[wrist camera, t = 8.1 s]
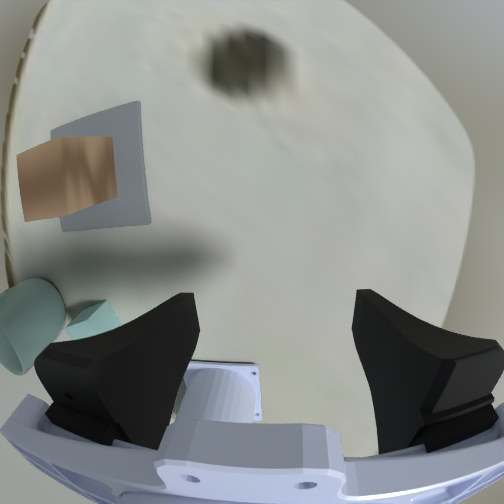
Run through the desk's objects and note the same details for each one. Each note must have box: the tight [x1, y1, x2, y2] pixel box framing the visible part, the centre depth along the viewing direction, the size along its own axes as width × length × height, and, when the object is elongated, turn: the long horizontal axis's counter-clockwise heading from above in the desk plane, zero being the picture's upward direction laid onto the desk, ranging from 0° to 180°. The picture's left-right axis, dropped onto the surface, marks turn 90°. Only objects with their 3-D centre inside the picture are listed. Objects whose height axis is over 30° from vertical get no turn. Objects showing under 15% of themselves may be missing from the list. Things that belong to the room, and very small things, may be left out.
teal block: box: [65, 300, 122, 340], centre depth 24 cm, size 4×4×4 cm
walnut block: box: [17, 136, 118, 222], centre depth 17 cm, size 5×5×6 cm
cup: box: [0, 278, 66, 375], centre depth 21 cm, size 8×8×10 cm
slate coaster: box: [51, 101, 151, 232], centre depth 20 cm, size 10×10×1 cm
